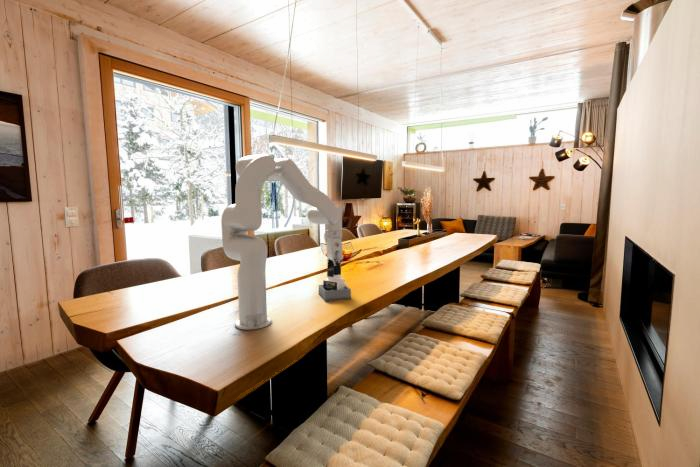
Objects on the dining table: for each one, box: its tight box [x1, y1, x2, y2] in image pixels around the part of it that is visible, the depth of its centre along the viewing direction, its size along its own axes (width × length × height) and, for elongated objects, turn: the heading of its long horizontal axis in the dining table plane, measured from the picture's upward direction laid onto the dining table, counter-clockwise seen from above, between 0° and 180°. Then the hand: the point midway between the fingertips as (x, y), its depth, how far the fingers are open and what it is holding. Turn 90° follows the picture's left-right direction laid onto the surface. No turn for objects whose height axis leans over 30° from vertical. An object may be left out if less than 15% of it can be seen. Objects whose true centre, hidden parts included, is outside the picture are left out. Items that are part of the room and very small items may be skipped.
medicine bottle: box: [322, 268, 346, 291], centre depth 156 cm, size 7×7×12 cm
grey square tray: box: [318, 284, 352, 303], centre depth 157 cm, size 12×12×4 cm
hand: (334, 272), depth 156 cm, fingers open, 9 cm apart
